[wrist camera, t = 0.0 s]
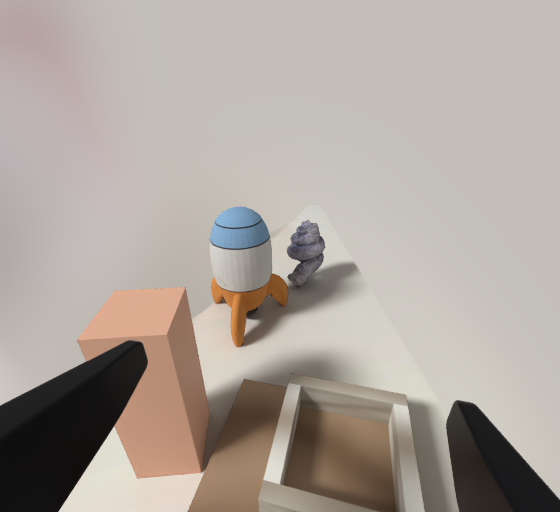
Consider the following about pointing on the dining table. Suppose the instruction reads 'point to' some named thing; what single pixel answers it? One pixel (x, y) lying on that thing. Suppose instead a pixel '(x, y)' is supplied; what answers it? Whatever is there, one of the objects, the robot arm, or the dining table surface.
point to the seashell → (306, 252)
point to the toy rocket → (243, 266)
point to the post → (156, 379)
